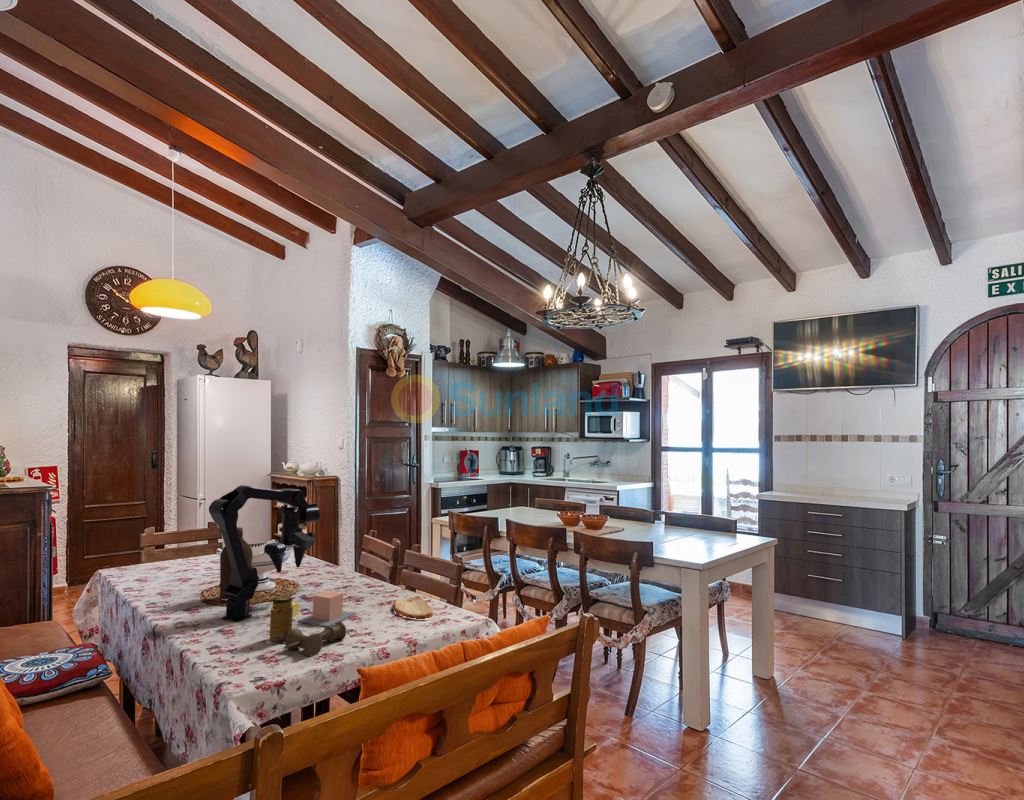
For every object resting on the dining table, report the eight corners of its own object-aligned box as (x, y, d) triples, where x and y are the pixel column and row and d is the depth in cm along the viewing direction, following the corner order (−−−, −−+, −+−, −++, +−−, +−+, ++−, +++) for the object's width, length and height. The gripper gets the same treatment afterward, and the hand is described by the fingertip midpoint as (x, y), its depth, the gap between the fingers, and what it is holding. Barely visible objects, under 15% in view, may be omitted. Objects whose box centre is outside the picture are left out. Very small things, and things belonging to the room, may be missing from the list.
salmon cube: (329, 621, 186) (330, 598, 186) (312, 618, 188) (313, 595, 189) (342, 615, 192) (343, 593, 192) (325, 612, 194) (326, 590, 195)
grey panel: (328, 627, 181) (328, 625, 181) (297, 622, 186) (297, 620, 186) (355, 614, 195) (356, 613, 195) (326, 610, 199) (326, 608, 199)
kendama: (352, 643, 170) (294, 663, 153) (330, 637, 175) (271, 656, 159) (353, 622, 171) (296, 639, 154) (331, 617, 176) (273, 633, 159)
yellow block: (289, 618, 189) (290, 605, 190) (279, 616, 191) (280, 604, 191) (298, 615, 193) (298, 602, 193) (288, 613, 195) (289, 601, 195)
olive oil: (256, 595, 214) (260, 526, 215) (239, 603, 204) (242, 531, 205) (229, 593, 216) (233, 525, 217) (211, 601, 205) (215, 529, 206)
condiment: (272, 635, 173) (274, 594, 174) (301, 635, 174) (303, 594, 175) (264, 644, 166) (266, 601, 167) (295, 644, 167) (297, 601, 168)
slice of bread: (429, 623, 190) (430, 611, 190) (378, 617, 194) (379, 606, 194) (447, 607, 207) (448, 596, 207) (400, 602, 211) (401, 592, 211)
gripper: (290, 530, 194) (288, 578, 193) (326, 523, 211) (325, 566, 210) (264, 527, 198) (261, 574, 197) (302, 520, 215) (300, 563, 214)
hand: (288, 569), depth 204 cm, fingers open, 9 cm apart
